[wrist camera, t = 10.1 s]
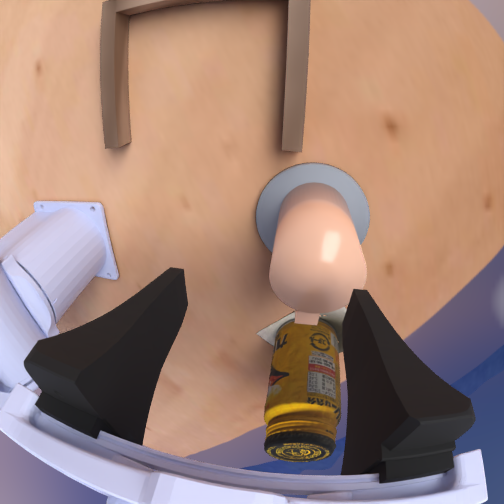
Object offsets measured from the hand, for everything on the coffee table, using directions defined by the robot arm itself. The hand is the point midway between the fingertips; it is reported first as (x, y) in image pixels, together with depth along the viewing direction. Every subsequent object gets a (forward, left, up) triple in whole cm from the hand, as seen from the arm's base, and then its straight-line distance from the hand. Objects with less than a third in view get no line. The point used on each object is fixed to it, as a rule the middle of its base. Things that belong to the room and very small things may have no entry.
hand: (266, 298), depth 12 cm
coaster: (+2, -1, -10) cm, 10 cm away
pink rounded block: (+2, -1, -9) cm, 10 cm away
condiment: (+4, -13, -10) cm, 17 cm away
